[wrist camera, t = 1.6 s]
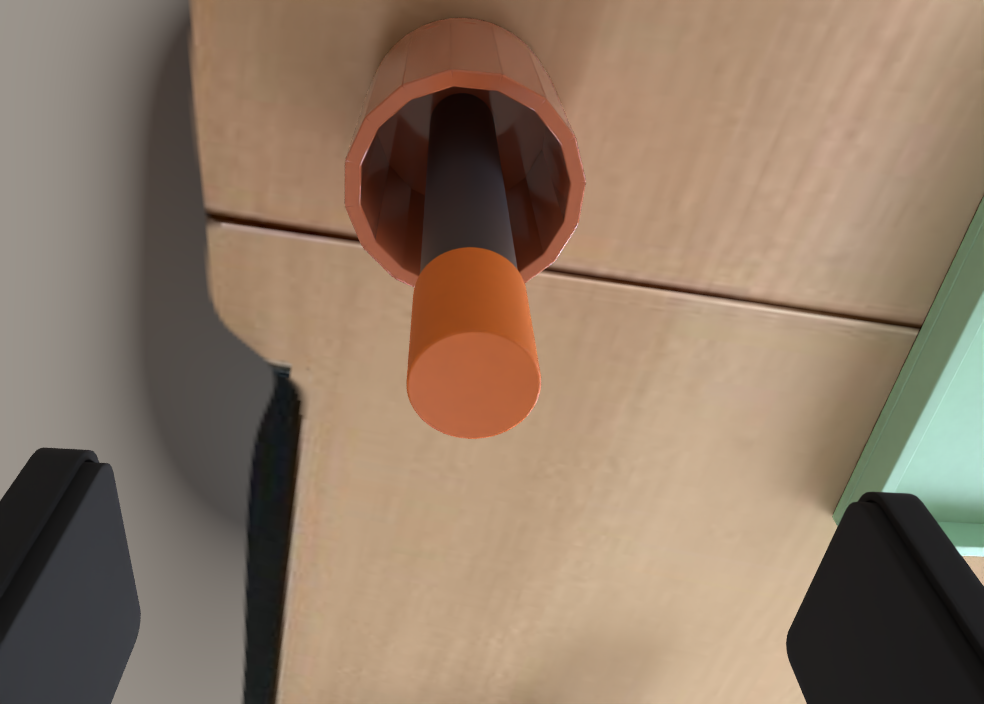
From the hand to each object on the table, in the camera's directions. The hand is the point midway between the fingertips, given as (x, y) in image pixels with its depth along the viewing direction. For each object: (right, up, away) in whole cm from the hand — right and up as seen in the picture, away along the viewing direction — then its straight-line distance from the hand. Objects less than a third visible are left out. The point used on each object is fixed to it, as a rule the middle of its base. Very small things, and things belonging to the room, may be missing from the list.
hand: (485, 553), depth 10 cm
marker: (-1, +10, +14) cm, 17 cm away
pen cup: (-1, +10, +15) cm, 18 cm away
